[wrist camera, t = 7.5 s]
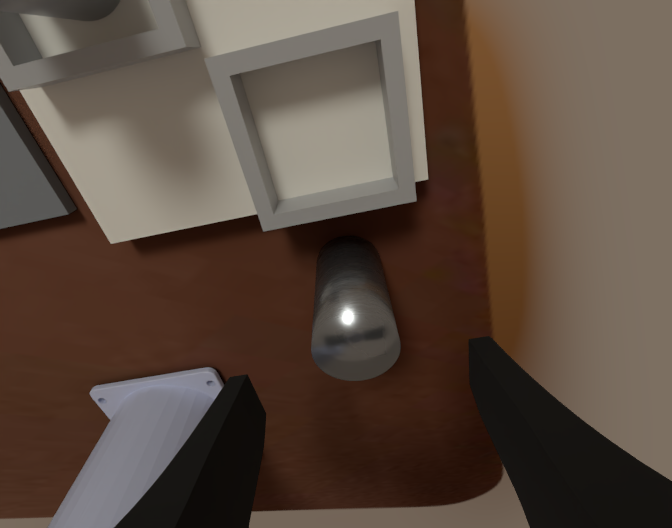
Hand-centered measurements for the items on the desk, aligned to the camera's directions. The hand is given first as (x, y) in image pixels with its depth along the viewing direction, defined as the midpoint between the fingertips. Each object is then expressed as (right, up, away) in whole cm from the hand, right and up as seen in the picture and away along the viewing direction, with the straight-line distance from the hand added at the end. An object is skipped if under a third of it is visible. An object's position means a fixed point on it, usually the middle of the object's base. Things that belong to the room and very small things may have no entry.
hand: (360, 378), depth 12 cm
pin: (0, +4, +6) cm, 7 cm away
